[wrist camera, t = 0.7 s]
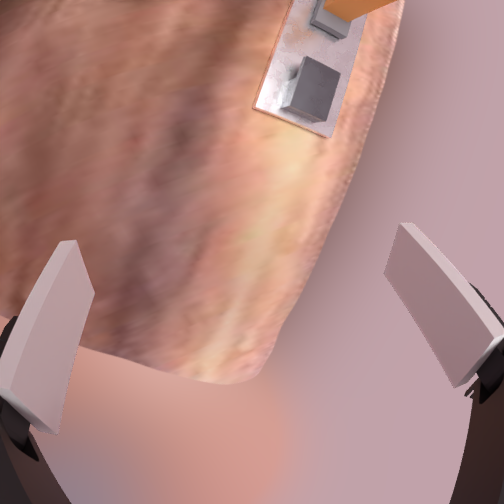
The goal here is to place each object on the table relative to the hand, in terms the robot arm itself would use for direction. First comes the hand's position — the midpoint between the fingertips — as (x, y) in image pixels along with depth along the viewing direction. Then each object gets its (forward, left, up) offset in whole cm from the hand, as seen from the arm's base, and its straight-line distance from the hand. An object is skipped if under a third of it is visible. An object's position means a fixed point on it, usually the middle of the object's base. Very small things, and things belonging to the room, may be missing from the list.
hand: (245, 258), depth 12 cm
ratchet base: (-16, +21, -27) cm, 38 cm away
